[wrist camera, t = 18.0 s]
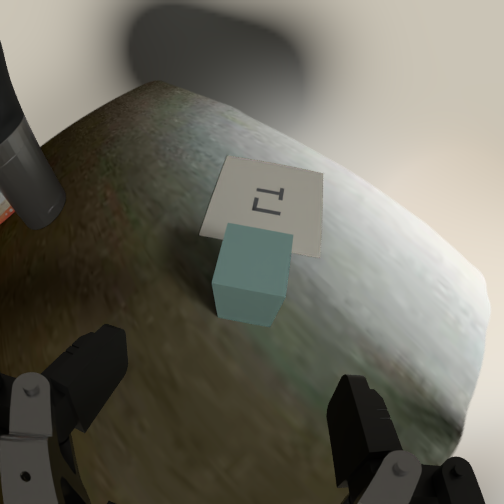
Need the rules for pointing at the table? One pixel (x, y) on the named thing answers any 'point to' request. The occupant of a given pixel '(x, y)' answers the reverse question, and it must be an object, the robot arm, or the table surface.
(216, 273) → the teal block
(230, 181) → the card
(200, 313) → the table surface
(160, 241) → the table surface
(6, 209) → the cracker box
